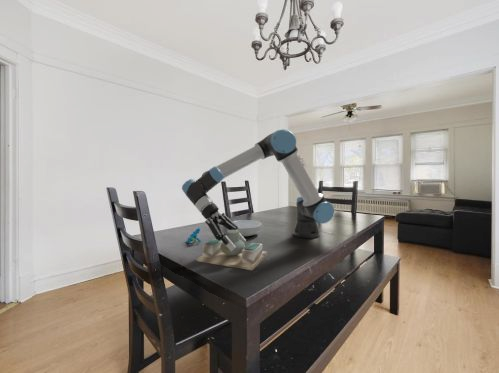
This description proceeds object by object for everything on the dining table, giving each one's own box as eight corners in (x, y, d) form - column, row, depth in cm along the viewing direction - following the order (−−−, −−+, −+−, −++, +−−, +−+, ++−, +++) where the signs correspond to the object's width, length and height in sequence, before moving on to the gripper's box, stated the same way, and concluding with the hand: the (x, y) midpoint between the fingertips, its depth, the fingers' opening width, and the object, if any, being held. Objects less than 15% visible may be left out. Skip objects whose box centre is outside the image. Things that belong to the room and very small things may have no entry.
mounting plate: (267, 254, 106) (267, 241, 105) (252, 270, 89) (252, 254, 89) (217, 248, 116) (217, 235, 115) (196, 260, 99) (195, 246, 99)
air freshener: (217, 253, 103) (217, 230, 103) (231, 248, 109) (231, 227, 109) (234, 259, 96) (234, 235, 95) (248, 253, 102) (248, 231, 101)
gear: (186, 237, 131) (199, 224, 130) (194, 243, 132) (206, 231, 132) (184, 245, 120) (197, 232, 120) (192, 252, 121) (206, 239, 121)
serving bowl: (221, 238, 134) (221, 226, 133) (234, 229, 154) (234, 219, 153) (256, 241, 128) (256, 228, 127) (265, 231, 148) (264, 220, 147)
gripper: (215, 209, 117) (243, 243, 112) (187, 217, 97) (220, 259, 92) (224, 199, 115) (254, 233, 110) (197, 205, 95) (232, 248, 89)
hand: (238, 245), depth 101 cm, fingers closed on air freshener, 9 cm apart
